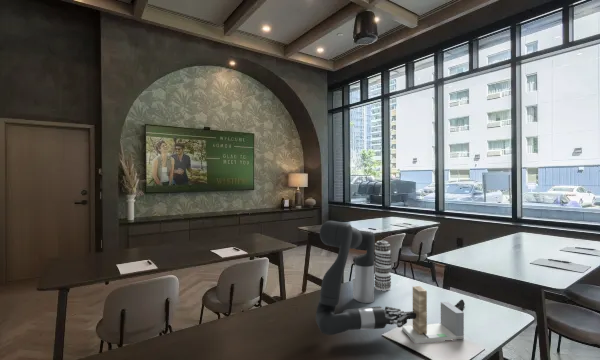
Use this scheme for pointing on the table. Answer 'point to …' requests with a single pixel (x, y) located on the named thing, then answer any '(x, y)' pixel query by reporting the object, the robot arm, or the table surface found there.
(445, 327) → the base
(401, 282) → the table surface
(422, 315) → the tan rectangular box
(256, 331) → the table surface
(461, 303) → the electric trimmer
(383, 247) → the decorative candle
